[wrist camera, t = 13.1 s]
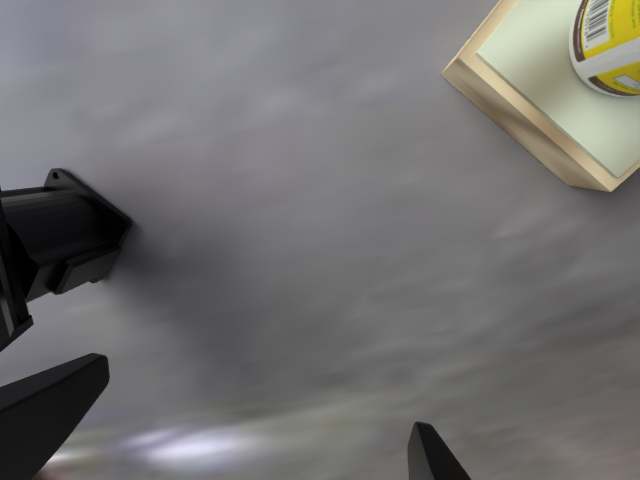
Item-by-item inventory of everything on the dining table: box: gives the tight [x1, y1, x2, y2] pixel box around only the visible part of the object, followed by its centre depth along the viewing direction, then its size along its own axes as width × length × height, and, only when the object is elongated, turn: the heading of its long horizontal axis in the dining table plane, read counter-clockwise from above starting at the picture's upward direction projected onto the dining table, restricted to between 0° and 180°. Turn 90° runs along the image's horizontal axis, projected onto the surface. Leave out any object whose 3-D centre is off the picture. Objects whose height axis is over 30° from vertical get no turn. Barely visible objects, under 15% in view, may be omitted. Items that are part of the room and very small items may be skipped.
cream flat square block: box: [440, 0, 640, 192], centre depth 14 cm, size 10×10×4 cm
